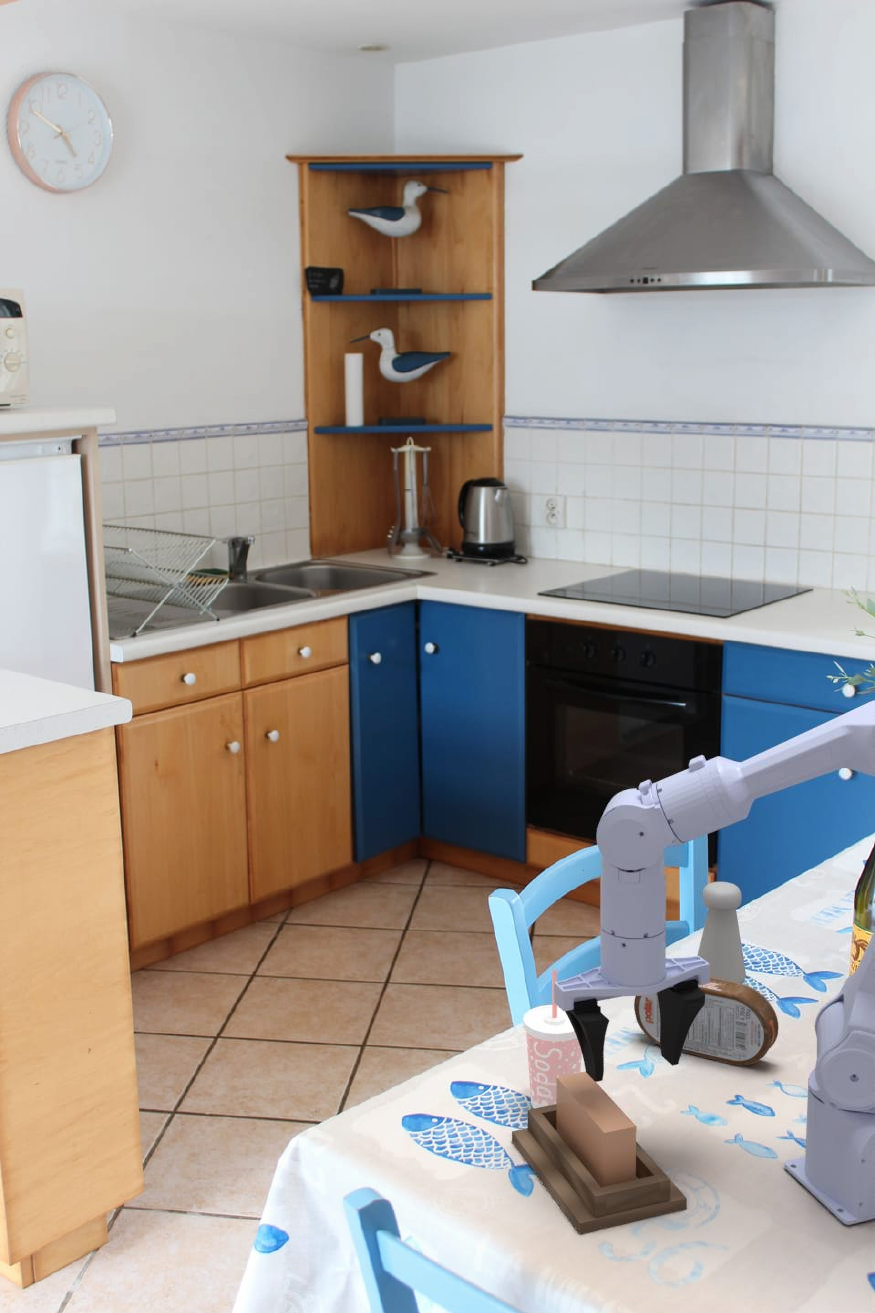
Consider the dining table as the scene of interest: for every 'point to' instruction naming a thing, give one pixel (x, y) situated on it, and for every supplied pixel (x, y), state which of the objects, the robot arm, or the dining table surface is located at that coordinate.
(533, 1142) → the tray
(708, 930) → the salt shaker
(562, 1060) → the beverage cup
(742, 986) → the tin
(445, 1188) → the dining table surface
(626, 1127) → the tan rectangular block
